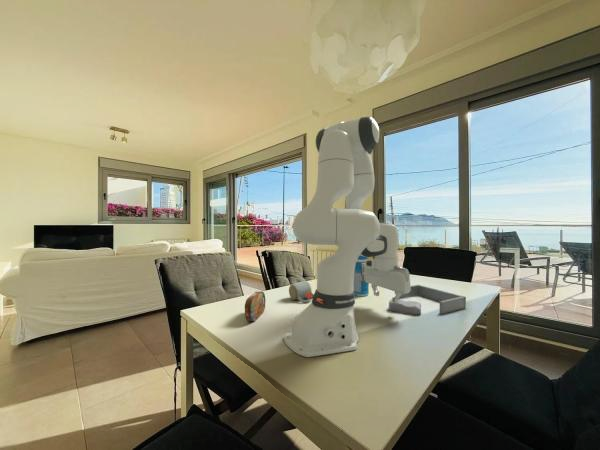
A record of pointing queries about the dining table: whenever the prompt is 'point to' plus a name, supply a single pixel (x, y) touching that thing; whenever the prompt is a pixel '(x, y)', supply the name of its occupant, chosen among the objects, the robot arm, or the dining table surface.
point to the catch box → (439, 298)
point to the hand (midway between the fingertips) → (385, 298)
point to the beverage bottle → (360, 278)
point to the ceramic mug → (300, 291)
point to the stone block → (405, 307)
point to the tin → (254, 306)
